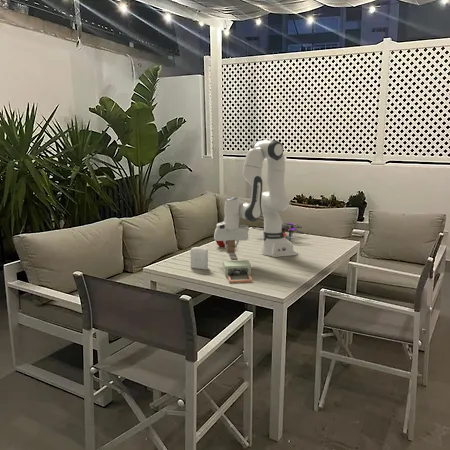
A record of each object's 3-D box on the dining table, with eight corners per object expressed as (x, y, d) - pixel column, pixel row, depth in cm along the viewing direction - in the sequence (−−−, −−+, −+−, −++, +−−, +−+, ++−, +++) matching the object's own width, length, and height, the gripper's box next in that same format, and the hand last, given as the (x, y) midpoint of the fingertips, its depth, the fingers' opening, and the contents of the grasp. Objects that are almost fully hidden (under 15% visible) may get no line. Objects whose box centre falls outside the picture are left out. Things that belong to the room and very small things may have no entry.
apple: (233, 247, 304) (233, 229, 301) (220, 249, 298) (219, 231, 296) (224, 244, 313) (224, 227, 311) (211, 246, 307) (211, 229, 305)
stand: (248, 269, 255) (248, 260, 254) (251, 275, 245) (251, 265, 244) (223, 270, 253) (223, 261, 252) (225, 276, 244) (225, 266, 243)
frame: (249, 276, 244) (249, 274, 243) (252, 282, 234) (252, 280, 234) (227, 277, 242) (227, 275, 242) (229, 283, 233) (229, 281, 233)
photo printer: (209, 268, 259) (208, 247, 257) (206, 270, 255) (205, 249, 253) (192, 266, 263) (192, 245, 260) (189, 268, 259) (189, 247, 256)
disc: (240, 271, 252) (240, 267, 252) (242, 274, 247) (242, 270, 247) (231, 272, 252) (231, 268, 251) (233, 275, 247) (233, 270, 246)
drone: (249, 225, 327) (265, 218, 351) (249, 238, 329) (265, 231, 353) (302, 231, 308) (315, 223, 332) (301, 244, 310) (315, 236, 334)
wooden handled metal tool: (227, 251, 271) (227, 238, 270) (233, 251, 272) (234, 238, 270) (230, 260, 254) (231, 246, 252) (238, 260, 254) (238, 246, 253)
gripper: (248, 223, 271) (247, 246, 273) (213, 224, 268) (213, 246, 271) (249, 225, 264) (249, 248, 267) (214, 226, 262) (214, 249, 265)
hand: (231, 247), depth 269 cm, fingers closed on wooden handled metal tool, 4 cm apart
